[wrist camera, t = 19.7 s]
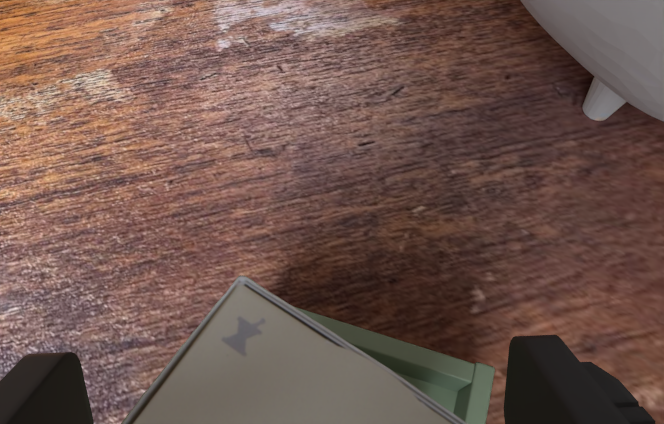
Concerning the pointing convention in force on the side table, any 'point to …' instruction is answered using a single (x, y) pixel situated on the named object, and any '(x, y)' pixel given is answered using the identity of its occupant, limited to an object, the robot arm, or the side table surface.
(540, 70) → the side table surface
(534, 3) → the table lamp
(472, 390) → the green open storage bin
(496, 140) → the side table surface
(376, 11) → the side table surface
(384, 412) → the cosmetic box
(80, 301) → the side table surface
